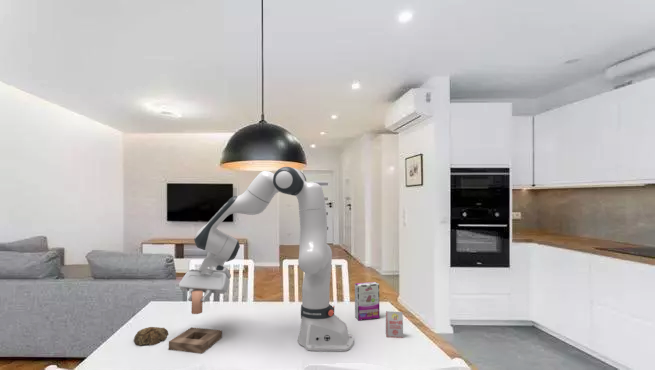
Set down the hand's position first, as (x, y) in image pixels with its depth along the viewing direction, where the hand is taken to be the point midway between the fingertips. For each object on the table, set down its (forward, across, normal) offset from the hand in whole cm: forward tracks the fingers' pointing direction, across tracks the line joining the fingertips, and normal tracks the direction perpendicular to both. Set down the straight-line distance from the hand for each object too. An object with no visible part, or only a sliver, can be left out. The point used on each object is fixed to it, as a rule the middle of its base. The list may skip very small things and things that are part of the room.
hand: (196, 301), depth 131 cm
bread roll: (+12, -20, +12) cm, 26 cm away
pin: (+3, 0, +4) cm, 5 cm away
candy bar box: (-19, +63, +42) cm, 78 cm away
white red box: (-6, +76, +30) cm, 82 cm away
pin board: (+11, 0, +12) cm, 17 cm away
